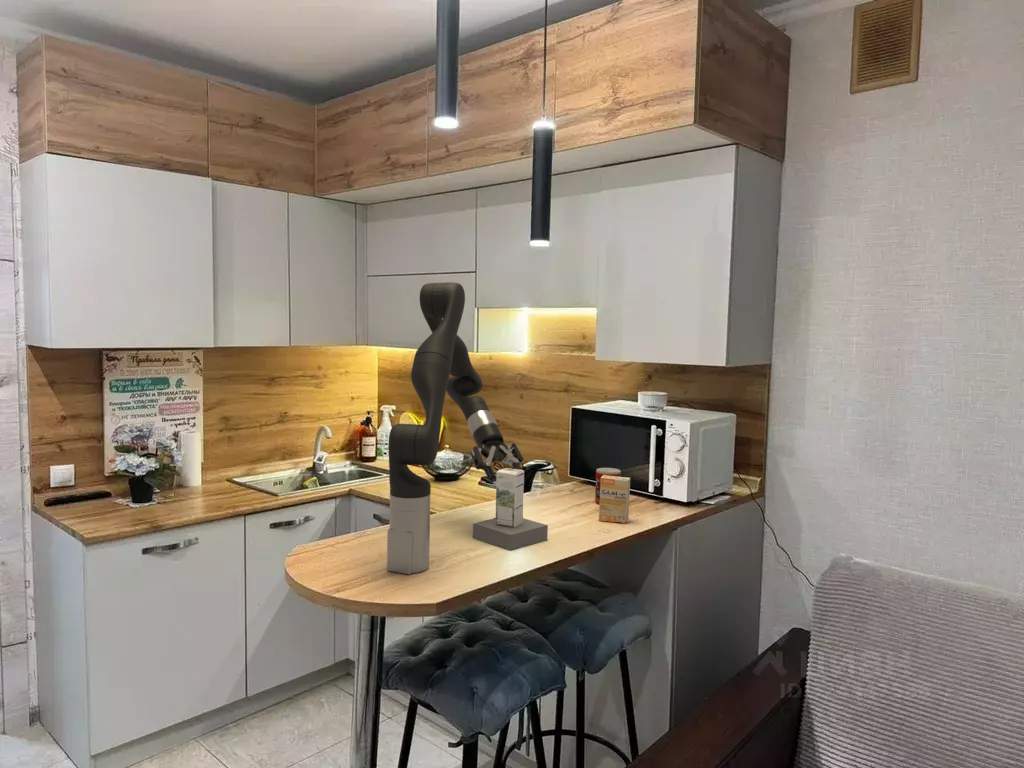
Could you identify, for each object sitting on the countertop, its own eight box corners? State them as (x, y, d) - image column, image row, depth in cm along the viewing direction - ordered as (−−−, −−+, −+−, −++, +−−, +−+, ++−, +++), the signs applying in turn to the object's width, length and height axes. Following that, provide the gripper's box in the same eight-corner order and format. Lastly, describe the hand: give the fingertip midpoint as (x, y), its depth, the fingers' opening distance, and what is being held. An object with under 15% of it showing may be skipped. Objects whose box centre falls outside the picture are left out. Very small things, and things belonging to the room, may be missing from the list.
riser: (510, 550, 180) (510, 534, 179) (472, 538, 189) (473, 523, 189) (547, 539, 190) (547, 525, 189) (509, 528, 199) (510, 514, 199)
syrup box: (523, 523, 191) (525, 469, 189) (513, 528, 185) (515, 473, 184) (504, 520, 193) (505, 467, 192) (494, 525, 188) (495, 470, 187)
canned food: (591, 500, 235) (592, 467, 234) (614, 500, 237) (615, 467, 236) (599, 506, 227) (601, 472, 227) (623, 505, 229) (624, 472, 229)
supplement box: (598, 521, 210) (599, 477, 209) (601, 517, 214) (603, 474, 213) (626, 524, 207) (627, 480, 206) (628, 520, 212) (630, 476, 211)
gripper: (468, 423, 192) (490, 473, 183) (511, 420, 200) (534, 468, 192) (457, 440, 197) (479, 489, 188) (500, 436, 205) (522, 483, 196)
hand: (507, 478), depth 190 cm, fingers open, 8 cm apart
